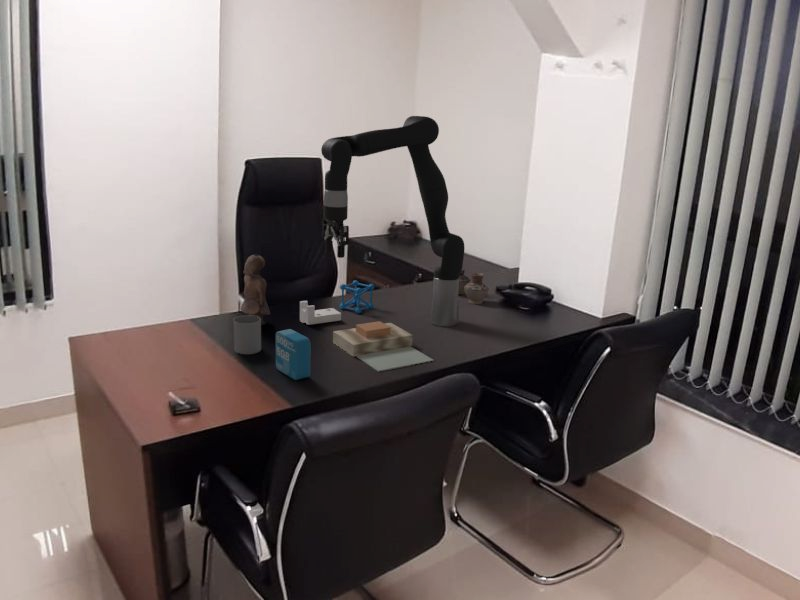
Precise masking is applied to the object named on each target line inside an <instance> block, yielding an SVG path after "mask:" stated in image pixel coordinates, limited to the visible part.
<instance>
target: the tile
mask: <svg viewBox="0 0 800 600" xmlns="http://www.w3.org/2000/svg"><path fill="white" fill-rule="evenodd" d="M355 328H356V332H357V333H358V334H360V335H361V336H363V337H365V338H372V337H378V336H385V335H390V328H391V327H389V326H387V325H386V324H385V323H383V322H382V321H380V320H378V321H372V322H365V323H357V324H355Z"/></svg>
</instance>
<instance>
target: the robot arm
mask: <svg viewBox="0 0 800 600" xmlns="http://www.w3.org/2000/svg"><path fill="white" fill-rule="evenodd" d="M439 133H440V129H439V125H438V123H437V121H436V120H434V119H433V118H432V117H430V116H424V115H423V116H421V115H411V116H408V117H407V118H406V119H405V120H404V123H403V126H400V127H393V128H383V129H382V128H381V129H374V130H369V131H365V132H361V133H357V134H353V135H345V136H336V137H331V138H328V139H327V140H325V141H324V142H323V143H322V146H321V154H322V157H324V159H325V160H327V161H329V162H330V167H329V170H327V171H325V174H324V193H323V219H322V224H321V225H322V226H321V228H322V229H321V237H322V238H323V239H324V241H325V249H324V250H325V252H326V253H332V252H333V244H334V243H333V242H334V241H333V239H334V240H335V241H336V243H337V251H336V252H337V255H336V256H337V258H339V259H342V258H345V251H346V248H345V246H348V245H349V243H350V233H349V232H350V229H349V227H350V226H349V225H345V224H344V222H345V221H346V220H348V207H349V206H348V204H349V202H348V200H349V196H348V175H349V172H350V168H351V163H352V159H353V158H352V157H359V158H360V157H365V156H369V155H374V154H378V153H381V152H385V151H390V150H393V149H397V148H403V147H407V150H408V152H409V155H410V158H411V161H412V165H413V169H414V172H415V176H416V181H417V184H418V190H419V194H420V199H421V202H422V205H423V209H424V214H425V216H426V217H425V218H426V221H427V226H428V234H429V241H430V246H431V250H432V252H433V253H434V254H435V255H436V257H439V258H441V263H440V266H439V267H436V268H434V270H433V282H432V300H431V313H430V314H431V315H430V322H431V324H432V325H435V326H438V327H453V326H456V325H458V324H459V322H460V321H459V319H460V307H461V306H460V304H461V298H460V297H459V295H458V289H459V276H460V273H461V270H462V268H463V265H464V257H465V242H464V240H463V238H462V237H461V236H460V235H458V234H456V233H455V234H454V233H451V232H450V231H449V228H448V224H447V218H446V213H447V208H448V204H449V193H448V188H447V183H446V180H445V176H444V175H443V173H442V171H441V169H440V167H439V166H438V165H437V163H436V162H435V160H434V158H433V156H432V154H431V150H430V146H429V145H431V144H433V143H434V142H435V141H436V140H437V139H438V137H439Z"/></svg>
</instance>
